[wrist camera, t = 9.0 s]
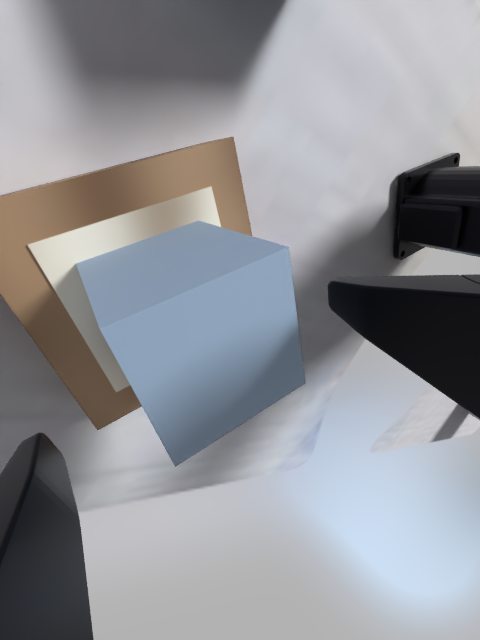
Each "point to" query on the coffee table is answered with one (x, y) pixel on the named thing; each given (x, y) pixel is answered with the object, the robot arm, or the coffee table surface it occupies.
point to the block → (199, 328)
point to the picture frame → (98, 238)
